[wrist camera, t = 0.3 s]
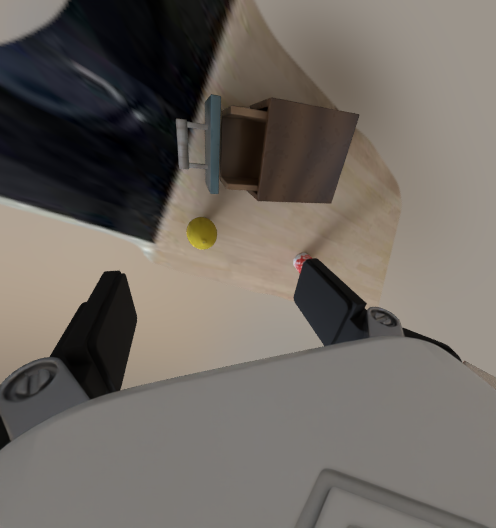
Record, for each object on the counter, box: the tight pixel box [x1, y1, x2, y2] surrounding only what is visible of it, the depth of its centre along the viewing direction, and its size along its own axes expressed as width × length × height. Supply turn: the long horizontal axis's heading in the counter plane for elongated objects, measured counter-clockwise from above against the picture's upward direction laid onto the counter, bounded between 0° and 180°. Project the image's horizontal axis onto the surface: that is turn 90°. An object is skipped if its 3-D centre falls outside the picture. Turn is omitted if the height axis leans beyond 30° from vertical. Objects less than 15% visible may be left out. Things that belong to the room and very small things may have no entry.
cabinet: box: [246, 98, 359, 203], centre depth 34 cm, size 14×13×10 cm
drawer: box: [176, 94, 267, 194], centre depth 31 cm, size 17×11×8 cm
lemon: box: [187, 217, 217, 249], centre depth 37 cm, size 6×6×8 cm
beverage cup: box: [294, 253, 313, 273], centre depth 47 cm, size 6×6×14 cm
